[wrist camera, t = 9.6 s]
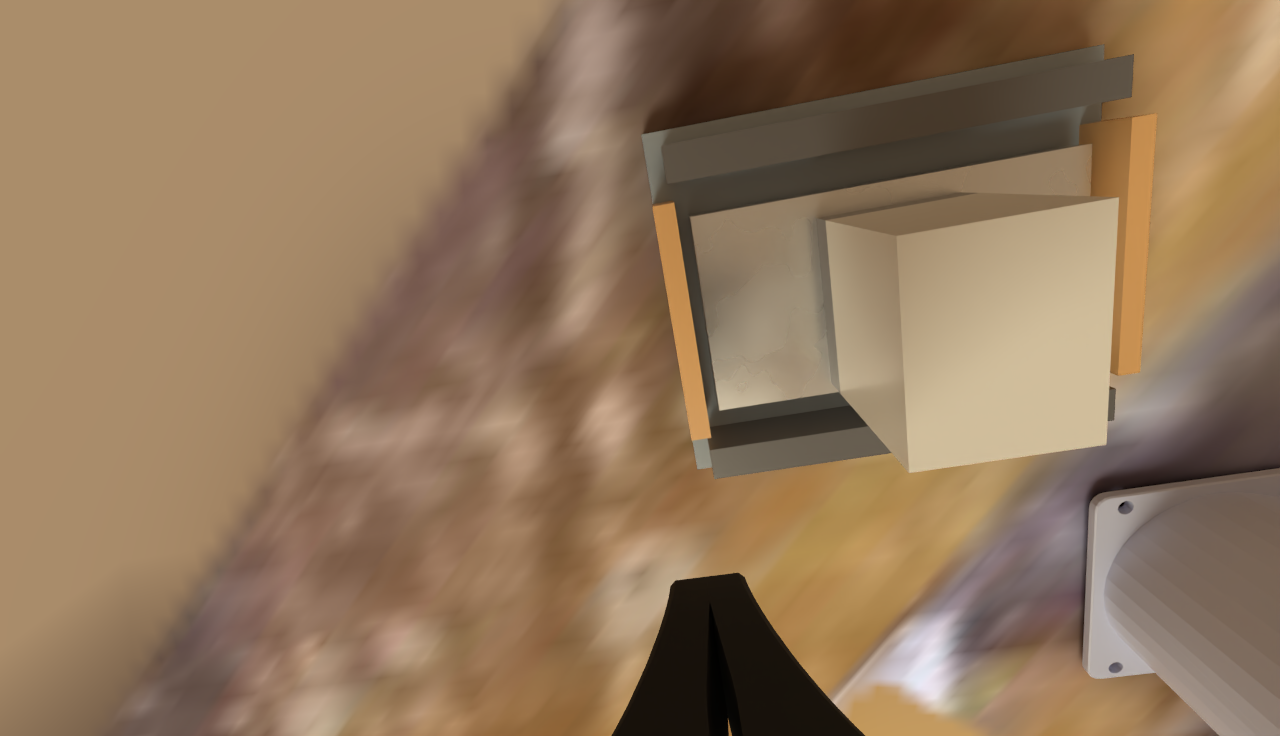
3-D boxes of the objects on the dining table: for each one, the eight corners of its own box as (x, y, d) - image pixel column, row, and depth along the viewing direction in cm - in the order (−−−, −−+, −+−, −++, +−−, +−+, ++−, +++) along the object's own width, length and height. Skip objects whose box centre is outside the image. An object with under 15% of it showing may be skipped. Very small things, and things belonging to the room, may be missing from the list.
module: (960, 192, 17) (1119, 197, 11) (964, 361, 18) (1106, 444, 12) (815, 218, 17) (896, 235, 11) (830, 382, 18) (909, 472, 13)
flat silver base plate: (1068, 145, 17) (1092, 143, 16) (1062, 344, 19) (1084, 353, 18) (688, 215, 18) (690, 217, 17) (716, 399, 20) (719, 410, 19)
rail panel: (1084, 50, 17) (1163, 26, 15) (1073, 402, 20) (1135, 435, 18) (642, 136, 18) (639, 128, 16) (695, 459, 21) (701, 498, 19)
